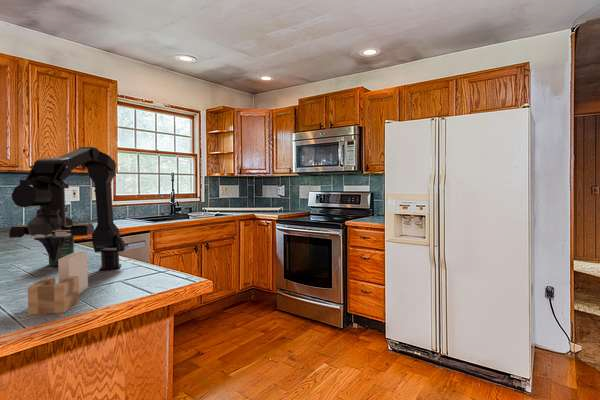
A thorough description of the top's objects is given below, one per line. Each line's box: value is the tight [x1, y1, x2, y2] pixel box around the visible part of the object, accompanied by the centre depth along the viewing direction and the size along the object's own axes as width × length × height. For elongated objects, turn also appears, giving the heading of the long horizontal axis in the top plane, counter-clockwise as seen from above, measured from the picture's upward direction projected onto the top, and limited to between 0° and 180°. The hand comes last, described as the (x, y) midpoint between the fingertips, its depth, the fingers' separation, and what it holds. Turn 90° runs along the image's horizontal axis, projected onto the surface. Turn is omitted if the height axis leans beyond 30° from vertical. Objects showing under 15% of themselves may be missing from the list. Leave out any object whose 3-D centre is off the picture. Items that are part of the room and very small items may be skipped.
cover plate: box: [57, 249, 89, 294], centre depth 95 cm, size 12×2×11 cm, turn 12°
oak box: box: [27, 276, 80, 316], centre depth 85 cm, size 8×7×6 cm
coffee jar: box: [48, 215, 75, 267], centre depth 131 cm, size 10×8×19 cm
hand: (54, 261), depth 95 cm, fingers closed
